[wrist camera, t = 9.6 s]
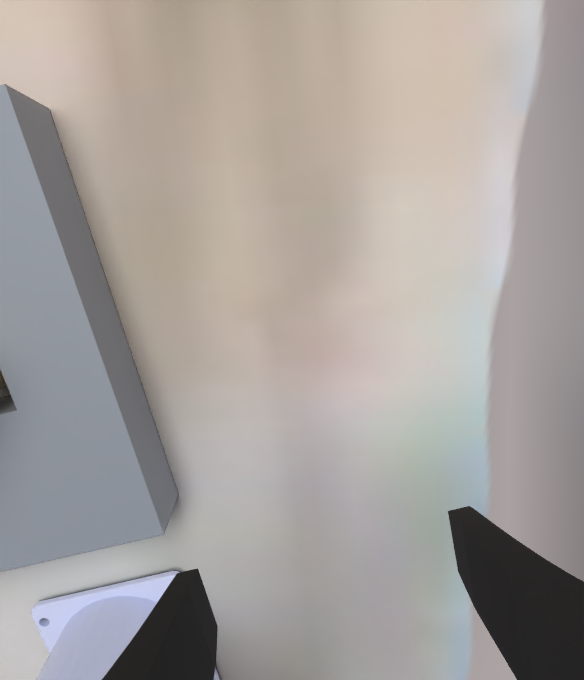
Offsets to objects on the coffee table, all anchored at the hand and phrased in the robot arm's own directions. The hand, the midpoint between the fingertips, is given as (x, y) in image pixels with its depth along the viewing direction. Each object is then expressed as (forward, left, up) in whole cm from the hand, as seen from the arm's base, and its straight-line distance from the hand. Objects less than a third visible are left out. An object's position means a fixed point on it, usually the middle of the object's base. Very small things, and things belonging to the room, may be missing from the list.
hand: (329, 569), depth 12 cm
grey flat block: (+7, +13, -9) cm, 18 cm away
